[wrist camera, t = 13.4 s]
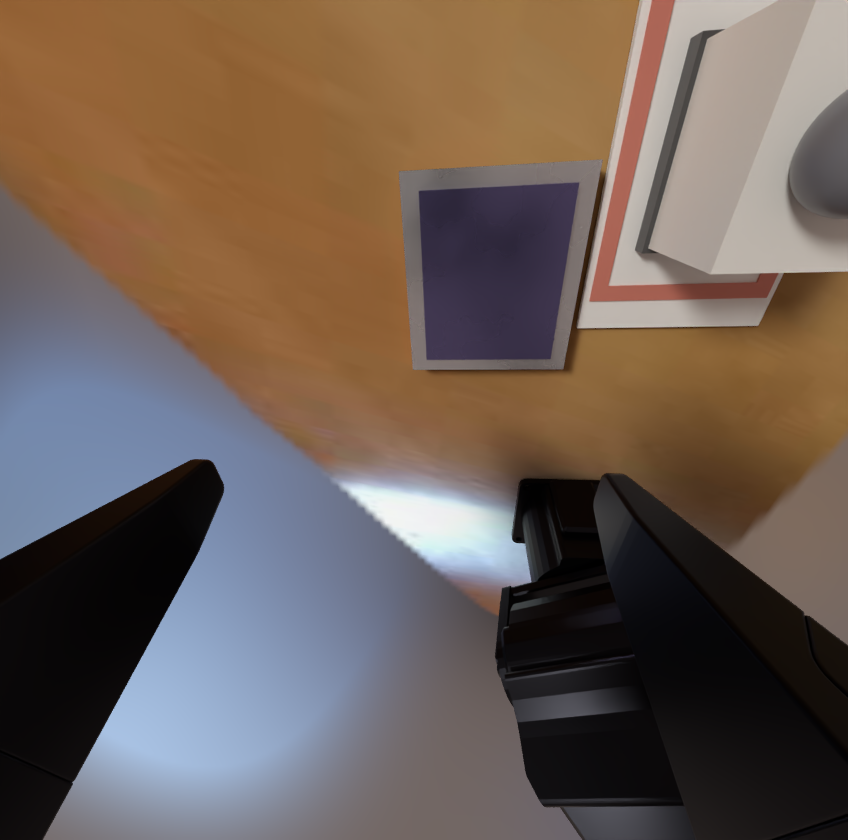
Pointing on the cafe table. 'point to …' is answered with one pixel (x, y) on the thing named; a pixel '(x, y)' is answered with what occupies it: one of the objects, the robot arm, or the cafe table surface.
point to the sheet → (631, 184)
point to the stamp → (758, 147)
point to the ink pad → (495, 262)
